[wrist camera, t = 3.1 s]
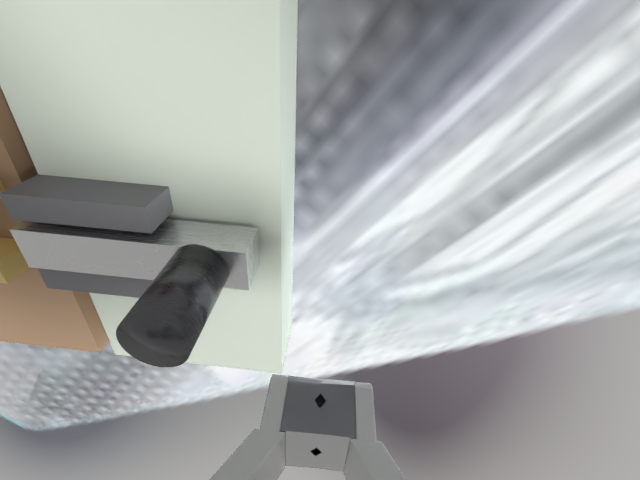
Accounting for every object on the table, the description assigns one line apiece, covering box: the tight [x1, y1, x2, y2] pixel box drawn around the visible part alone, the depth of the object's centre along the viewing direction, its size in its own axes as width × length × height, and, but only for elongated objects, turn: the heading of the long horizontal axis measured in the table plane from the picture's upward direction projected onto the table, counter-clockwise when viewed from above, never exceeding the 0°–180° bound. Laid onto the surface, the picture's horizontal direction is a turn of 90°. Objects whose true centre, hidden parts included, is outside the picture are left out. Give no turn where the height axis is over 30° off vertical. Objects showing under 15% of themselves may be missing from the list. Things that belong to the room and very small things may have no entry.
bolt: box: [9, 219, 260, 367], centre depth 13 cm, size 10×2×6 cm, turn 87°
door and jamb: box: [0, 0, 298, 373], centre depth 17 cm, size 22×20×6 cm
